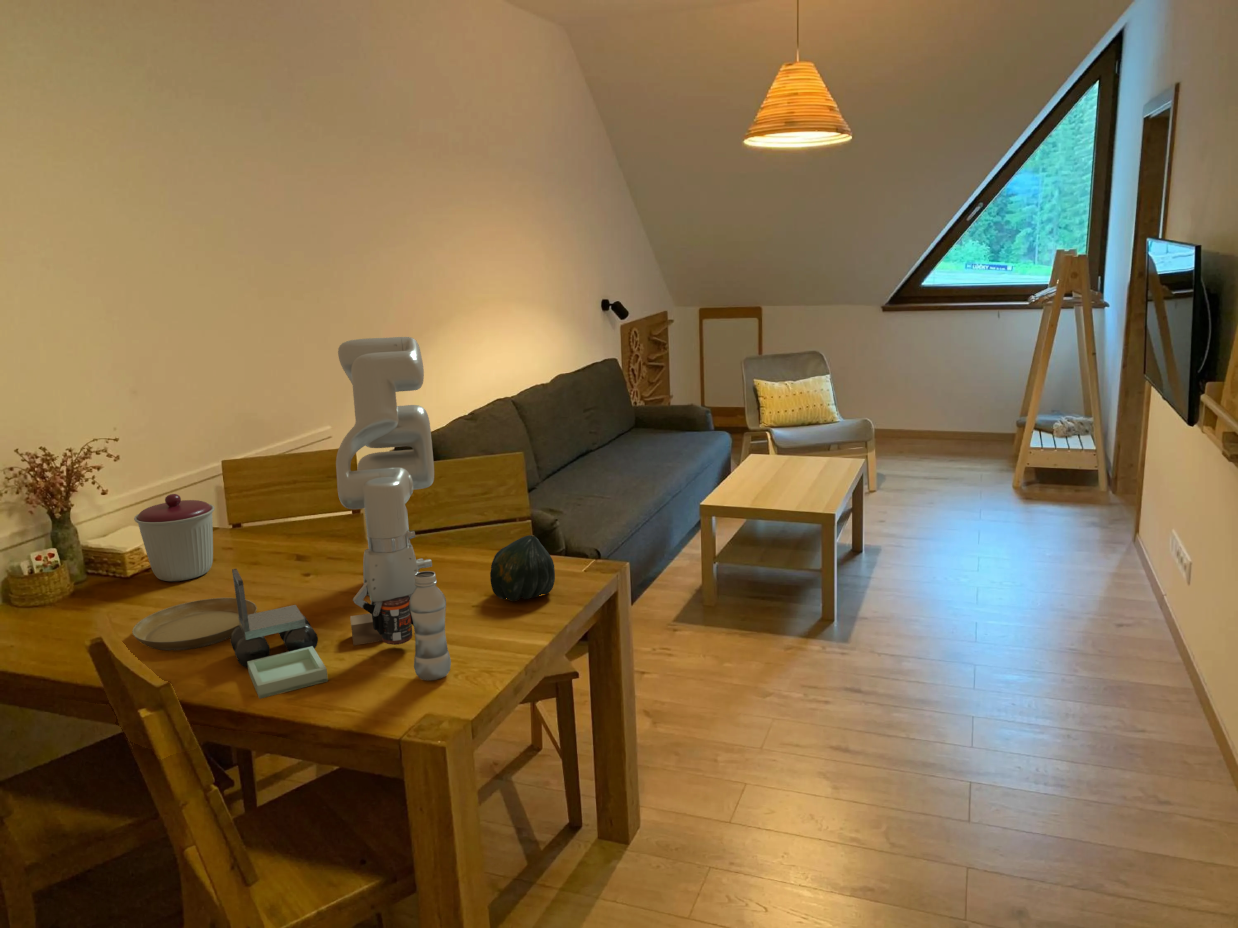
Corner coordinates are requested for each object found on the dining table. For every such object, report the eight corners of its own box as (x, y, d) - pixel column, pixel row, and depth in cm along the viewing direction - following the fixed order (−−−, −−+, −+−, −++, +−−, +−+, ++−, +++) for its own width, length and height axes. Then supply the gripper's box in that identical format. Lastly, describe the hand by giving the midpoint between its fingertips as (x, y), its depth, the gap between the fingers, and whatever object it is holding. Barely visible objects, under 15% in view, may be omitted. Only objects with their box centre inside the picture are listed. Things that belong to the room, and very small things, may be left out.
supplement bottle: (405, 647, 174) (400, 592, 172) (376, 645, 176) (371, 591, 173) (417, 633, 180) (413, 581, 177) (390, 631, 181) (385, 579, 178)
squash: (468, 574, 203) (497, 533, 195) (514, 558, 215) (543, 519, 207) (503, 624, 199) (535, 584, 191) (548, 604, 211) (580, 566, 202)
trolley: (309, 636, 186) (300, 556, 182) (319, 652, 178) (309, 568, 174) (232, 654, 178) (220, 571, 174) (238, 671, 171) (226, 584, 167)
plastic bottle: (417, 670, 169) (408, 569, 164) (453, 667, 169) (445, 567, 165) (412, 686, 162) (402, 581, 158) (450, 683, 163) (441, 579, 158)
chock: (387, 631, 188) (385, 611, 187) (389, 640, 183) (387, 619, 182) (352, 636, 186) (350, 616, 185) (353, 645, 181) (351, 625, 180)
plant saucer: (116, 636, 190) (113, 622, 190) (227, 602, 208) (225, 589, 207) (163, 667, 174) (161, 651, 174) (279, 627, 192) (277, 613, 191)
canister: (238, 569, 230) (227, 489, 225) (171, 592, 215) (158, 507, 210) (196, 559, 239) (184, 482, 234) (129, 580, 224) (115, 499, 220)
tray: (314, 657, 176) (312, 645, 175) (328, 681, 166) (326, 668, 165) (248, 673, 170) (247, 661, 169) (259, 698, 160) (257, 685, 159)
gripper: (425, 528, 180) (432, 611, 185) (338, 545, 172) (347, 631, 176) (437, 538, 174) (445, 624, 178) (348, 556, 165) (357, 645, 170)
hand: (396, 626), depth 177 cm, fingers closed on supplement bottle, 6 cm apart
